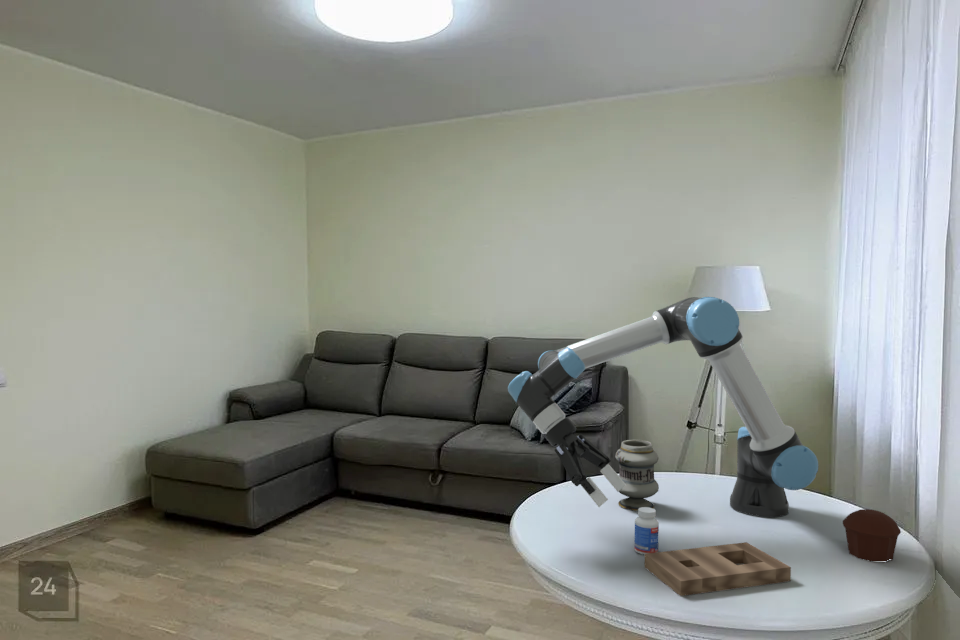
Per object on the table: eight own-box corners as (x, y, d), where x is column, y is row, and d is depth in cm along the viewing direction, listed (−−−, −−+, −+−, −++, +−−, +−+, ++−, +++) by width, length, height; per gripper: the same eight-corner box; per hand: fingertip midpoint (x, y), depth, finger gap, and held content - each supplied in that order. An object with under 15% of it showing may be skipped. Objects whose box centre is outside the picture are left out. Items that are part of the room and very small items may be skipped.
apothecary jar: (608, 507, 181) (609, 444, 180) (622, 496, 191) (623, 436, 191) (651, 515, 175) (651, 449, 174) (663, 503, 185) (664, 441, 184)
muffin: (866, 566, 142) (868, 521, 142) (830, 547, 153) (831, 505, 153) (912, 562, 145) (914, 518, 144) (873, 543, 155) (874, 502, 155)
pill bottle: (654, 557, 147) (654, 515, 146) (631, 552, 149) (631, 510, 149) (661, 549, 151) (661, 508, 151) (638, 544, 154) (639, 504, 154)
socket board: (746, 555, 148) (746, 542, 148) (790, 581, 135) (790, 567, 135) (644, 567, 141) (644, 553, 141) (680, 596, 128) (680, 581, 128)
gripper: (564, 426, 173) (618, 491, 166) (523, 445, 151) (583, 520, 144) (583, 408, 170) (639, 473, 163) (544, 425, 148) (606, 500, 141)
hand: (613, 495), depth 153 cm, fingers open, 13 cm apart
